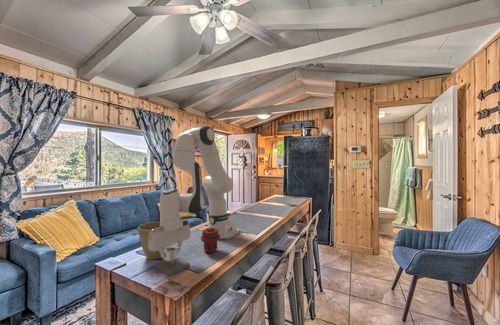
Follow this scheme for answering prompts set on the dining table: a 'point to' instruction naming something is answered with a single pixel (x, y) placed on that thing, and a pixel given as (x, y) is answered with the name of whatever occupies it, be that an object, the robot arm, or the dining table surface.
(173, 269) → the shaft base
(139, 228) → the plant pot
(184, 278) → the dining table surface
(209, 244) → the mechanical component
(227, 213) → the robot arm
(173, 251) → the steel collar
